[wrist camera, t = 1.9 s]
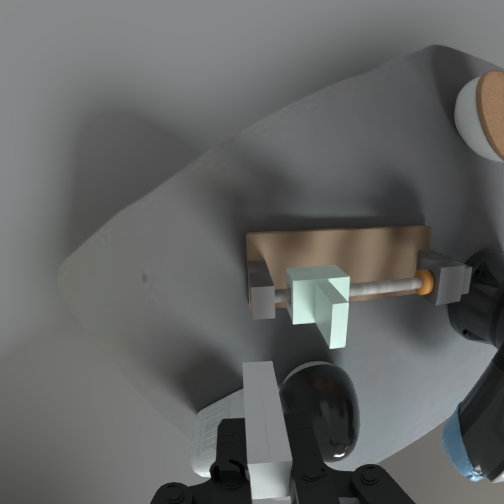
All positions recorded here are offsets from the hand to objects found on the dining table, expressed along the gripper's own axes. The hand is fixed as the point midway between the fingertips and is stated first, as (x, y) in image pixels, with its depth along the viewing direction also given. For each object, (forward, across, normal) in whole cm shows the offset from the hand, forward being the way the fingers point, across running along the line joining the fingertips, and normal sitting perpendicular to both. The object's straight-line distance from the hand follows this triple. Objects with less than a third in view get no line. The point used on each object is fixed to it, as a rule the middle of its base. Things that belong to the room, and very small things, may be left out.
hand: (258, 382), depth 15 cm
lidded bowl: (+22, -34, -20) cm, 45 cm away
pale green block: (+15, -6, 0) cm, 16 cm away
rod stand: (+22, -12, 0) cm, 25 cm away
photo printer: (+22, +4, +21) cm, 31 cm away
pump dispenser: (+22, -8, +17) cm, 29 cm away
